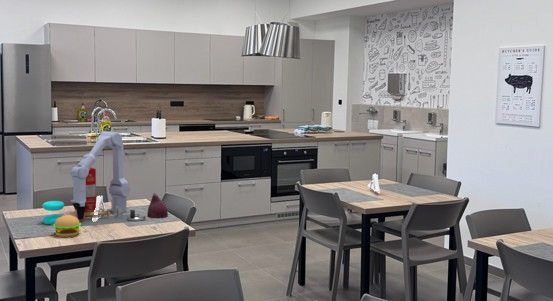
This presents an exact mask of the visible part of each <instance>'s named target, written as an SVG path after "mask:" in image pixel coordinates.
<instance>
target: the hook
mask: <svg viewBox="0 0 553 301" xmlns="http://www.w3.org/2000/svg"><path fill="white" fill-rule="evenodd" d="M94 213H98V215H99V216H108V217H110V216H111V215H110V212H109V211H108V210H105V211H103V210H102V211H96V212H90V213H84V218H83V219H80V220H79V219H78V215H77V210H76V209H75V208H74V216H75V217H76V218H77V219H78V220H79V221H85V218H87V217H86V216H92V217H94V216H93V215H94Z"/></svg>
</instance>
